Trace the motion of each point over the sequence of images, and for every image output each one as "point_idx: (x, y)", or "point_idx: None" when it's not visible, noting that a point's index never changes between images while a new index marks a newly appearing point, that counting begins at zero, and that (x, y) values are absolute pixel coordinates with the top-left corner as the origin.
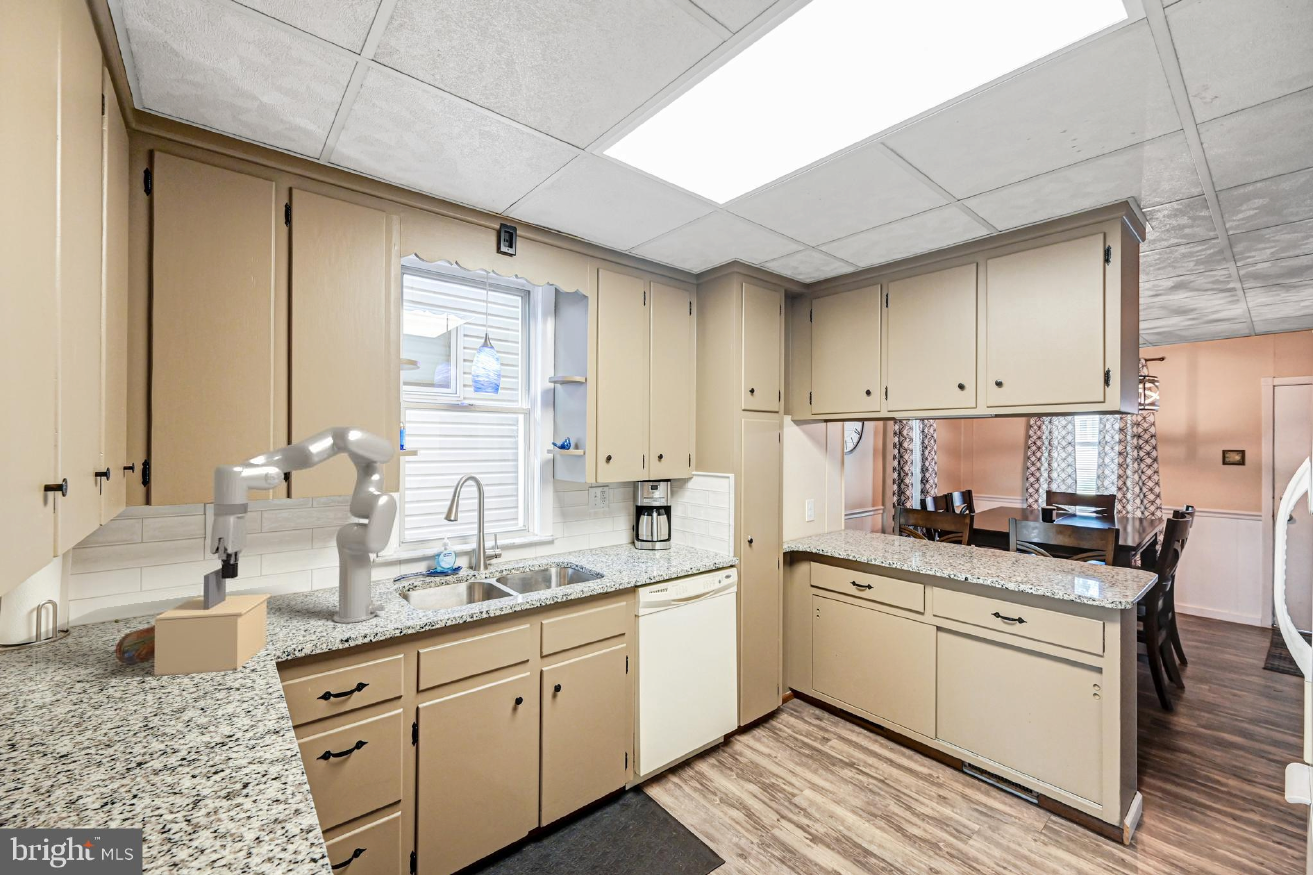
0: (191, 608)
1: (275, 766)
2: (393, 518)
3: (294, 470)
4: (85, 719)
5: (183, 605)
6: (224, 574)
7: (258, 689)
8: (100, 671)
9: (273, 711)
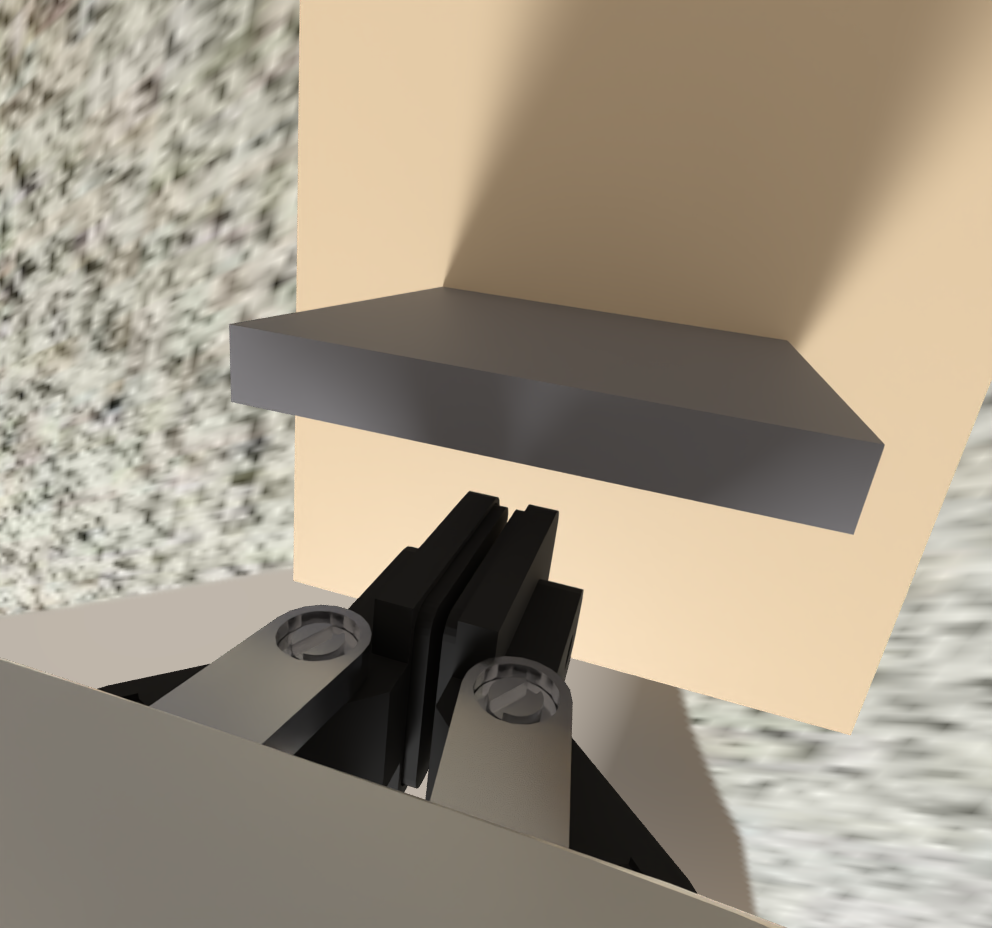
0: (539, 145)
1: None
2: None
3: None
4: (81, 8)
5: None
6: (401, 557)
7: (227, 541)
8: None
9: (76, 594)
